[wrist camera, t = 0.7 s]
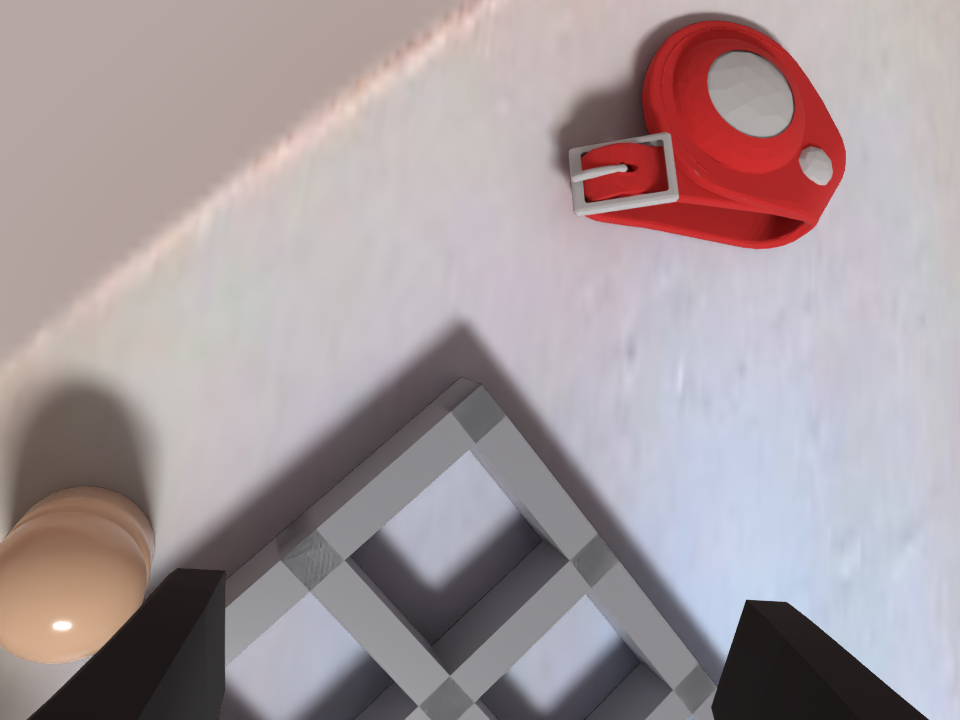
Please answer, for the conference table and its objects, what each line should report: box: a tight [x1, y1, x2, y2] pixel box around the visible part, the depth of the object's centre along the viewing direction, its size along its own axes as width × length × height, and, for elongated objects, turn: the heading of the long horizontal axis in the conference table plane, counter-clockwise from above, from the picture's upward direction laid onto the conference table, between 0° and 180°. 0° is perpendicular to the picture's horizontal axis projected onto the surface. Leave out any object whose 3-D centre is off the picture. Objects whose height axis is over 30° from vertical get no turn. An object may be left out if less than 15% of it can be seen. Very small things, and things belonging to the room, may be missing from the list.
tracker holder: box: [569, 21, 846, 249], centre depth 31 cm, size 12×4×10 cm
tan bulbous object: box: [0, 486, 155, 664], centre depth 23 cm, size 4×4×5 cm
